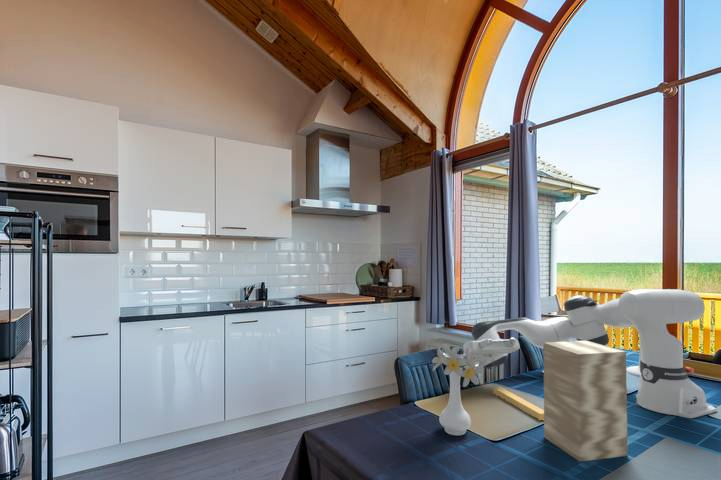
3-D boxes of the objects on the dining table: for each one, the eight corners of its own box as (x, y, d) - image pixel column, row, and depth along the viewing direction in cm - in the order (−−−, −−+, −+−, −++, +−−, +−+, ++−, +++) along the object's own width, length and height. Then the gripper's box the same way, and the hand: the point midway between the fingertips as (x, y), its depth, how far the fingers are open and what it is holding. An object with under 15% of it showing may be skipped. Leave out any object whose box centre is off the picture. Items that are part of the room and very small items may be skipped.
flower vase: (462, 450, 102) (461, 357, 103) (421, 424, 118) (421, 343, 118) (497, 440, 108) (496, 352, 109) (453, 416, 123) (453, 339, 124)
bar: (500, 394, 144) (500, 387, 145) (548, 421, 121) (548, 412, 121) (493, 394, 144) (493, 387, 144) (540, 422, 121) (540, 413, 121)
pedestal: (587, 432, 113) (586, 340, 113) (627, 455, 100) (625, 351, 101) (544, 437, 110) (543, 342, 110) (579, 461, 97) (578, 354, 98)
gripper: (511, 358, 155) (530, 347, 143) (462, 361, 151) (478, 350, 139) (506, 342, 158) (524, 330, 147) (459, 344, 154) (474, 333, 142)
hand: (501, 340), depth 143 cm, fingers open, 8 cm apart
